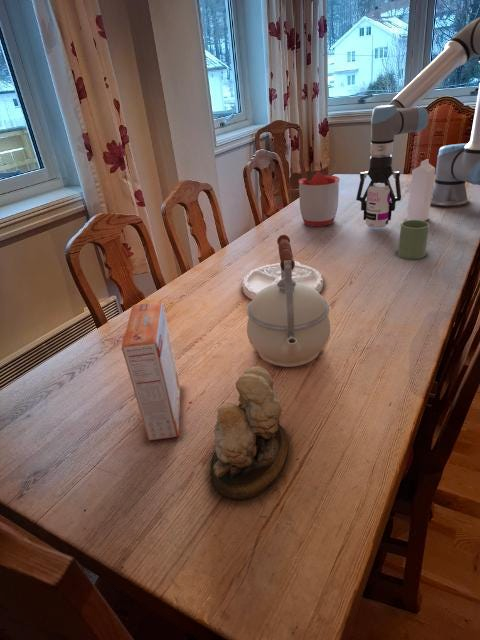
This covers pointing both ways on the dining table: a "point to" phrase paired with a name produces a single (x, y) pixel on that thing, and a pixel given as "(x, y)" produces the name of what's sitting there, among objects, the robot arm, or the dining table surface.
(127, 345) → the cracker box
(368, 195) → the supplement can
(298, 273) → the divided serving plate
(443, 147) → the robot arm
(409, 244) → the green cup
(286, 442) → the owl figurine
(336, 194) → the citrus juicer
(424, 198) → the milk
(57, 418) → the dining table surface
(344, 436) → the dining table surface
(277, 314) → the kettle
